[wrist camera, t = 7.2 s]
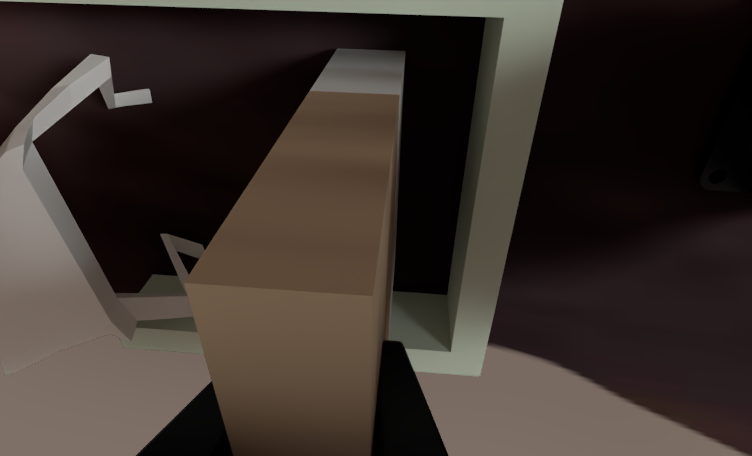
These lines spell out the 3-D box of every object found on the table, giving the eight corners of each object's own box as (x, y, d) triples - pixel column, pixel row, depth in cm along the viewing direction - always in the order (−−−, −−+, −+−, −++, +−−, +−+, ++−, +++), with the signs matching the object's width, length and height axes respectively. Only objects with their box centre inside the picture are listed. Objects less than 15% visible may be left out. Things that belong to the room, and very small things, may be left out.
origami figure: (230, 321, 21) (184, 418, 17) (47, 284, 21) (-44, 374, 17) (235, 55, 14) (160, 110, 10) (-37, -5, 14) (-225, 28, 10)
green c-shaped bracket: (40, -64, 13) (-52, -60, 10) (542, -53, 12) (573, -44, 9) (159, 295, 20) (123, 347, 18) (472, 318, 19) (479, 376, 17)
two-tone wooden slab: (337, 48, 14) (183, 283, 5) (405, 51, 13) (373, 296, 5) (343, 262, 18) (269, 582, 9) (394, 265, 18) (367, 593, 9)
